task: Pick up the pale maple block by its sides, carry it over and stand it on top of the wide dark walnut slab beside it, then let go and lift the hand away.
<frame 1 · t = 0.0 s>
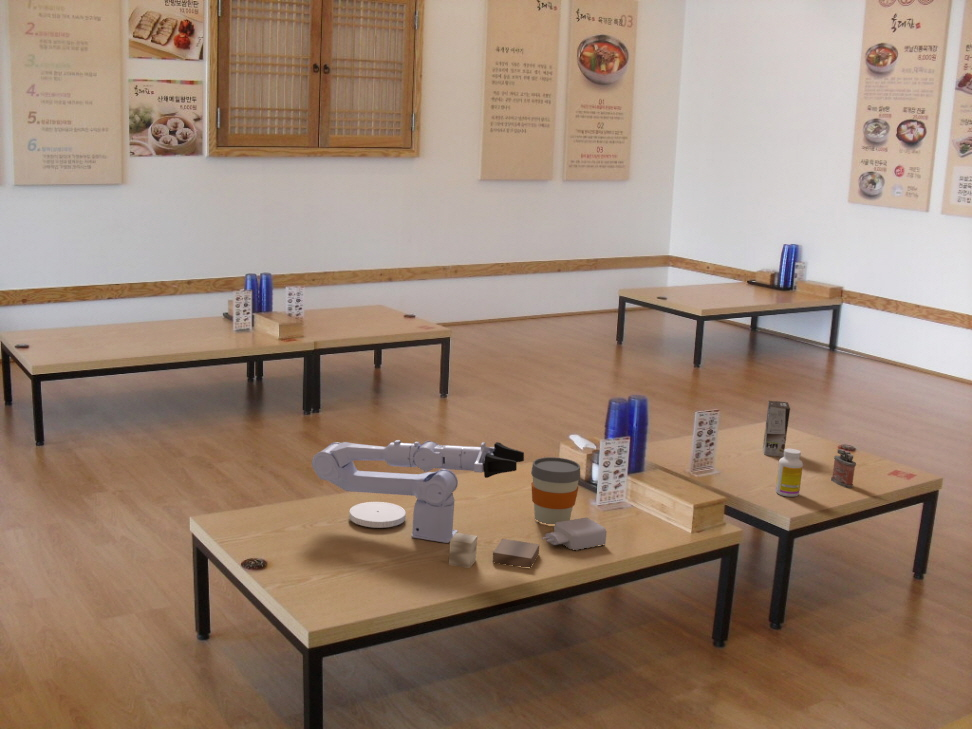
hand: (520, 461, 255), 22 cm above the table, tool horizontal, fingers open, 7 cm apart
coffee box: (773, 452, 352), on the table
reusable coffee cup: (551, 520, 279), on the table
maple block: (462, 562, 249), on the table
lighter: (841, 484, 324), on the table
plastic lid: (377, 521, 272), on the table
walnut slab: (515, 560, 254), on the table
supplement bottle: (786, 494, 312), on the table
charger: (569, 545, 265), on the table
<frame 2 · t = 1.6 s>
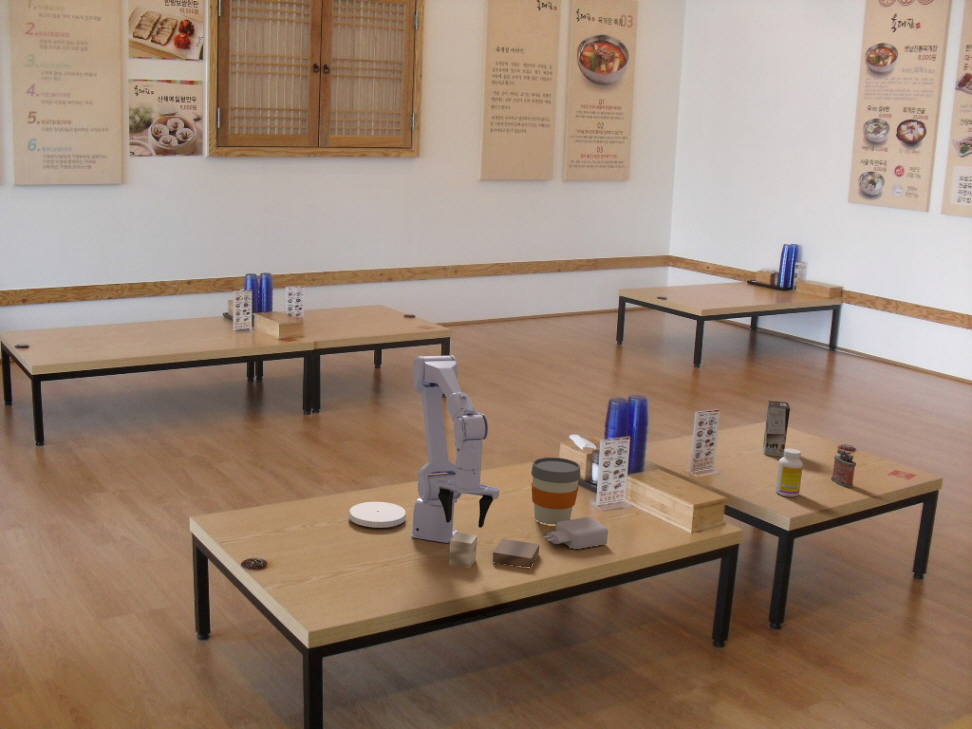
hand: (464, 523, 247), 9 cm above the table, tool pointing down, fingers open, 7 cm apart
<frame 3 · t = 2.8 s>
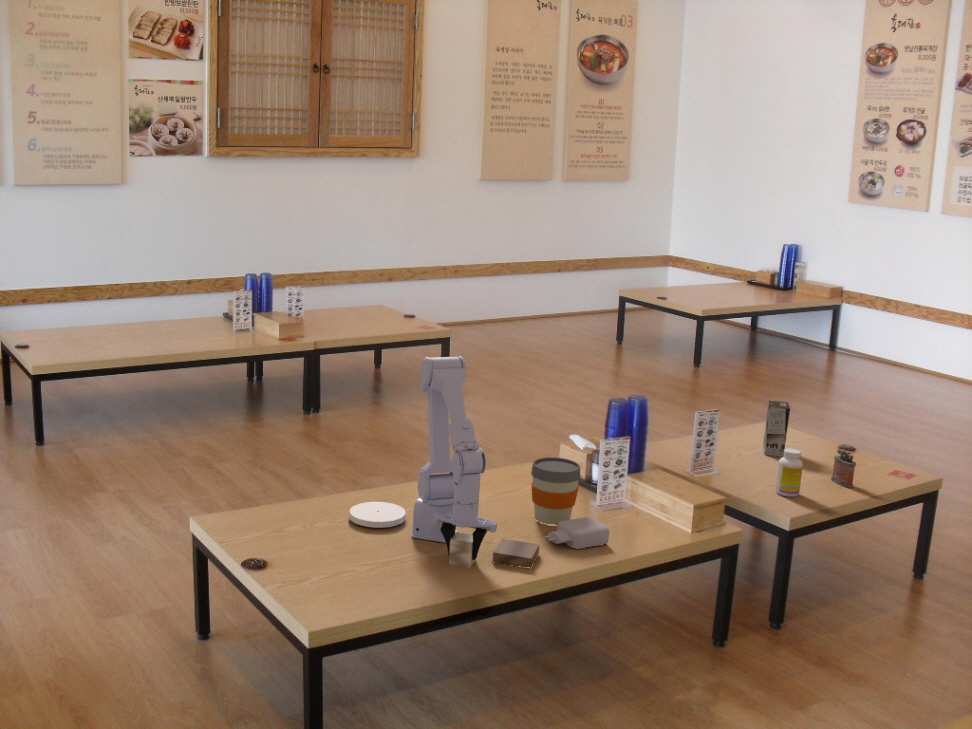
hand: (462, 556, 249), 1 cm above the table, tool pointing down, fingers closed on maple block, 5 cm apart
maple block: (462, 562, 249), on the table, touching gripper
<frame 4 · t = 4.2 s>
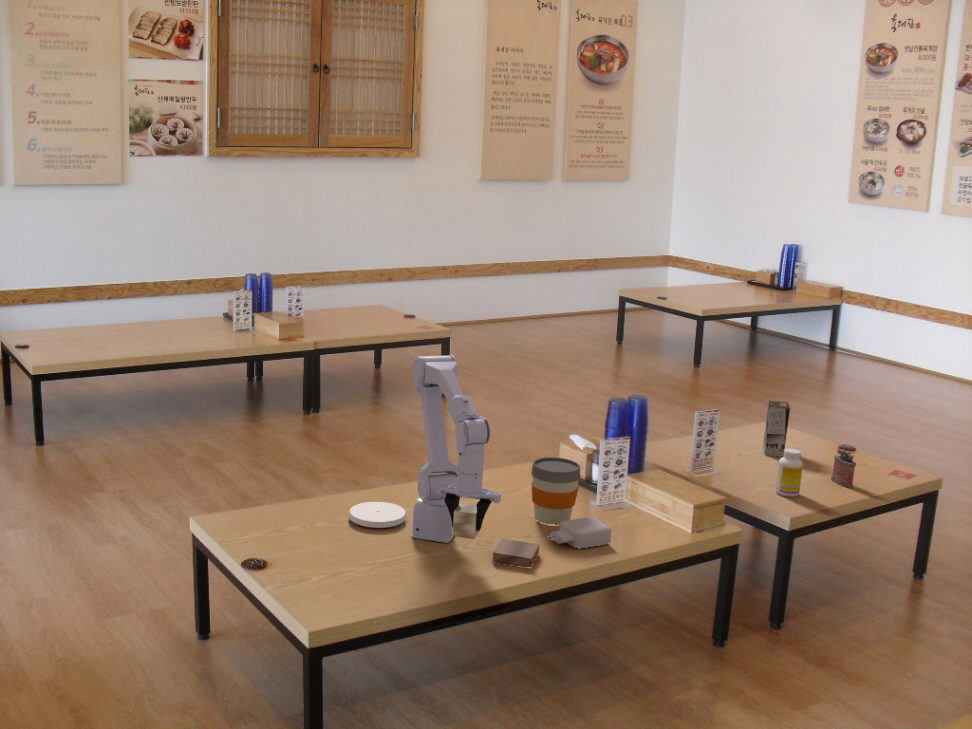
hand: (466, 527, 248), 8 cm above the table, tool pointing down, fingers closed on maple block, 5 cm apart
maple block: (466, 533, 248), point 7 cm above the table, touching gripper
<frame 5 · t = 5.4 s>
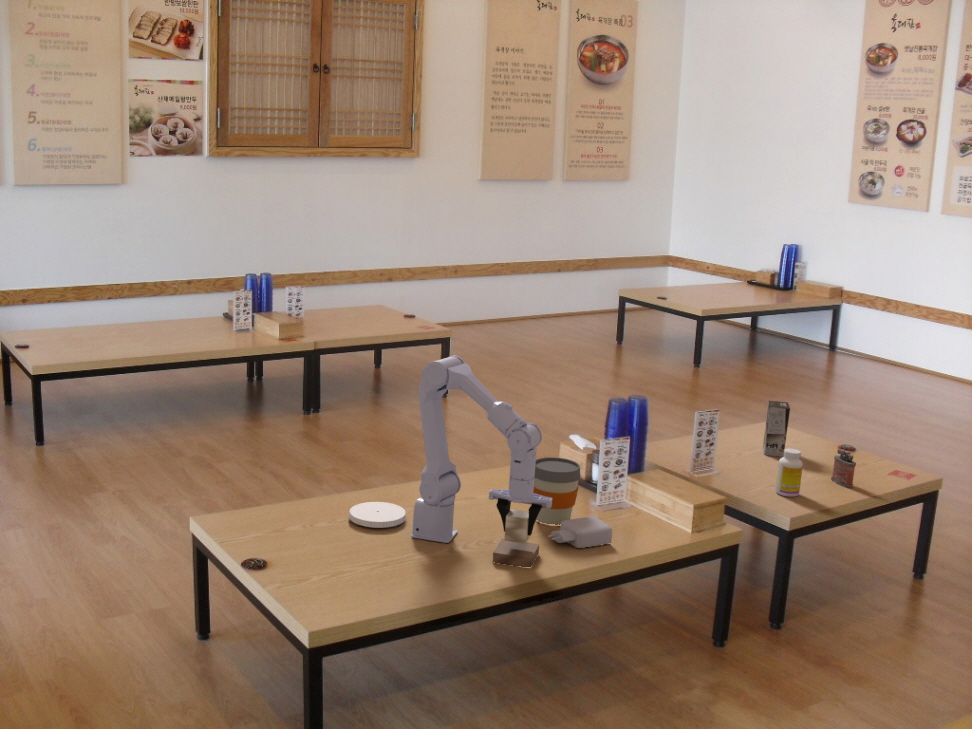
hand: (517, 532, 252), 7 cm above the table, tool pointing down, fingers closed on maple block, 5 cm apart
maple block: (517, 538, 252), point 5 cm above the table, touching gripper
when the fingers open (5 cm above the table, at t = 6.2 s): maple block drops 1 cm, resting on walnut slab.
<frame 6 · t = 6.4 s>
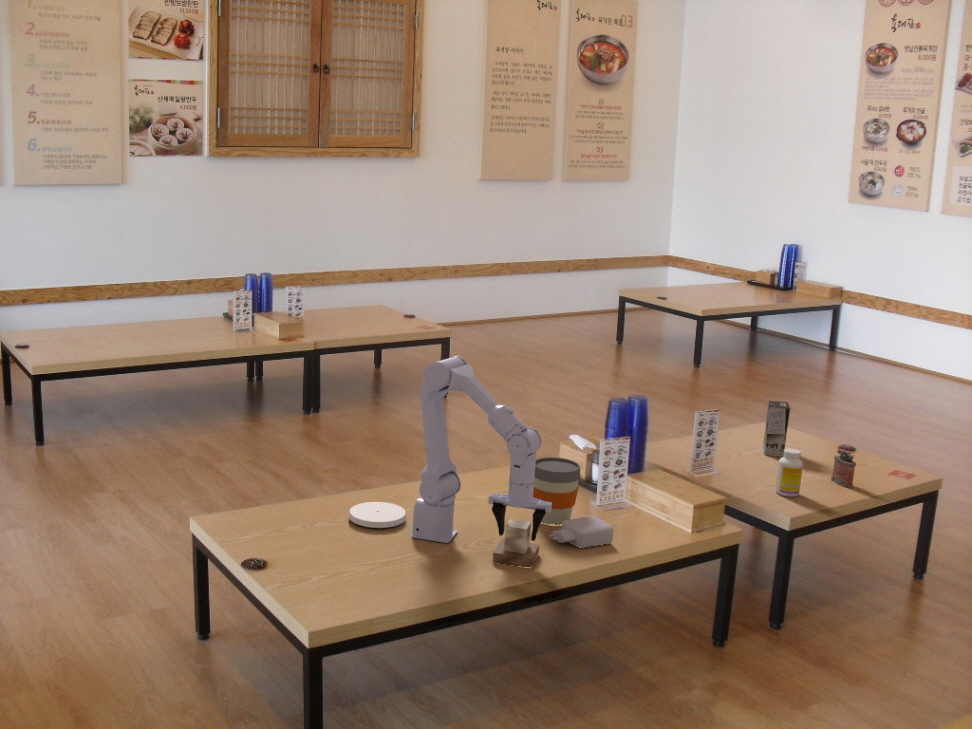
hand: (517, 536, 252), 5 cm above the table, tool pointing down, fingers open, 7 cm apart
maple block: (516, 548, 253), point 3 cm above the table, touching walnut slab
walnut slab: (515, 560, 254), on the table, touching maple block
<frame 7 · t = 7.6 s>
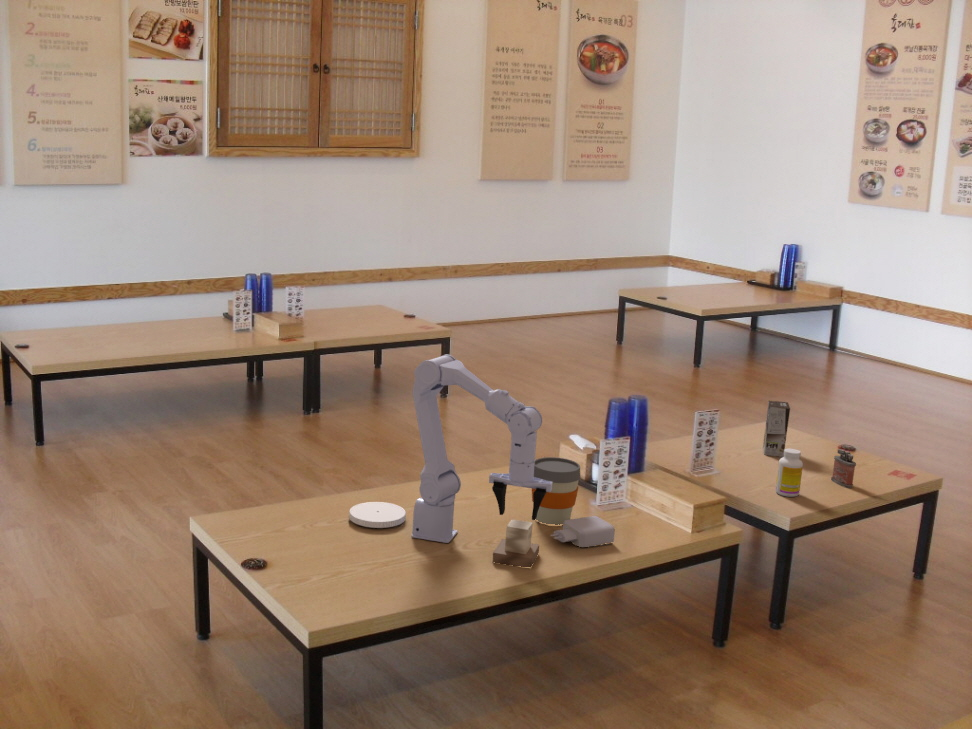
hand: (518, 516, 251), 10 cm above the table, tool pointing down, fingers open, 7 cm apart
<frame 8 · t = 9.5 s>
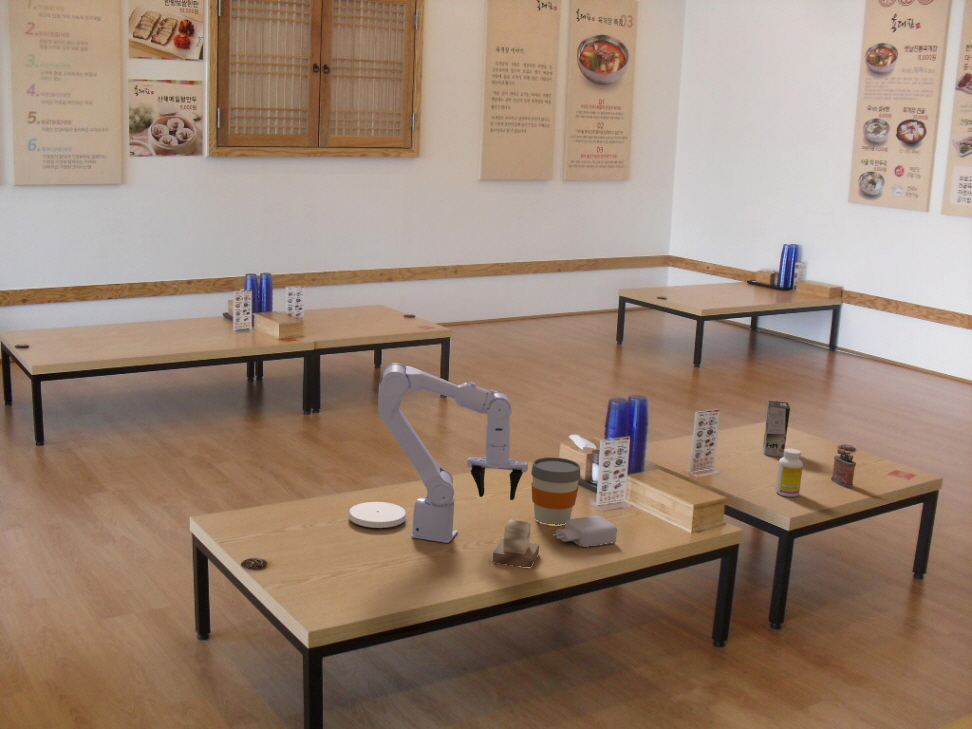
hand: (497, 497, 263), 10 cm above the table, tool pointing down, fingers open, 7 cm apart
at the end: maple block 0.3 cm off-centre on the walnut slab, point 3.0 cm above the walnut slab's base; maple block tilted 0°; the gripper is holding nothing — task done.
